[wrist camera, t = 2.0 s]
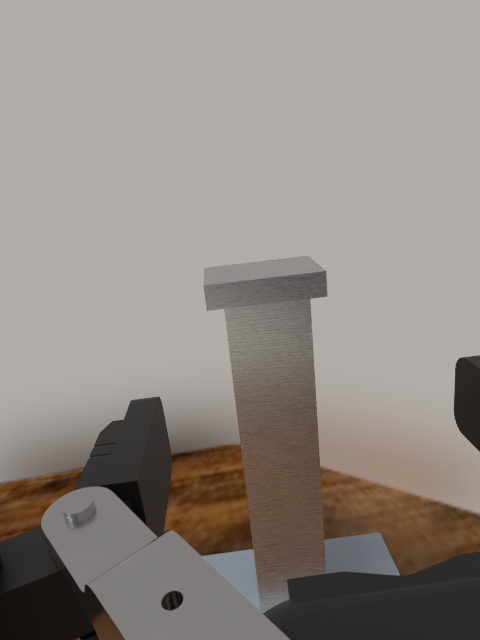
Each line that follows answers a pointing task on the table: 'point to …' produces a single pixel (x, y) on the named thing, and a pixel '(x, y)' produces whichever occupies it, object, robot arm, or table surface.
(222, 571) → the stand base
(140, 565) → the robot arm
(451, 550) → the table surface
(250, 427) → the column
